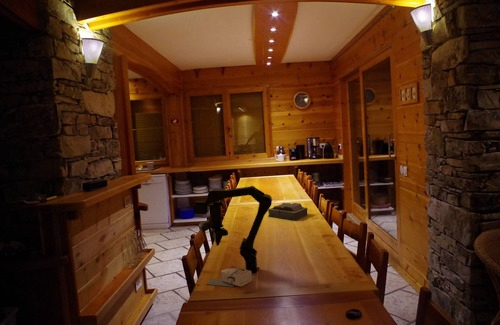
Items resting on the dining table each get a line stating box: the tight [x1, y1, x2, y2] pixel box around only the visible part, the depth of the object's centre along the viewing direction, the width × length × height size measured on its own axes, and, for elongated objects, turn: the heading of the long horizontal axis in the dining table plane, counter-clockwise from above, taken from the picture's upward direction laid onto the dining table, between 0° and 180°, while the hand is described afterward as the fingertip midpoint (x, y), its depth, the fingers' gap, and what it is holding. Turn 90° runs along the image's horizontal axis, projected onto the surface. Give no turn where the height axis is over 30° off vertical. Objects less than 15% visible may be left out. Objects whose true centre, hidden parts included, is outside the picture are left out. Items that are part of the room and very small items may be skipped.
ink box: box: [220, 265, 253, 287], centre depth 160 cm, size 9×5×12 cm
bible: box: [267, 202, 308, 222], centre depth 267 cm, size 23×27×10 cm
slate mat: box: [206, 278, 236, 288], centre depth 159 cm, size 6×13×1 cm, turn 73°
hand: (217, 245), depth 172 cm, fingers closed
